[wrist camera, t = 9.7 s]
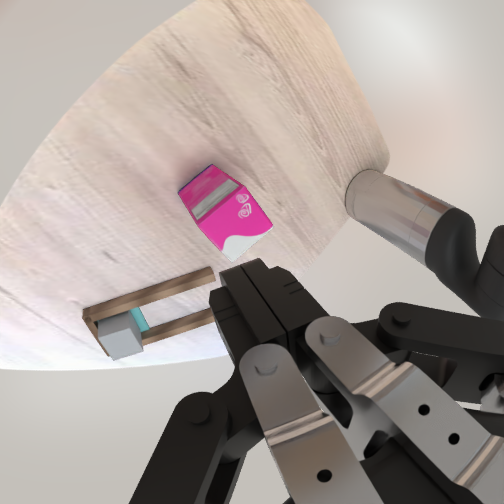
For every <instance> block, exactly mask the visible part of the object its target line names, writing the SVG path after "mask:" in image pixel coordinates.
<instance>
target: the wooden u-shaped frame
mask: <svg viewBox="0 0 504 504" xmlns="http://www.w3.org/2000/svg"><path fill="white" fill-rule="evenodd" d="M213 281H216V280H215V276H214V273H213V271H212V269H211V267H207V268H204V269H201V270H198V271H196V272H193V273H190V274H187V275H184V276H181V277H178V278H175V279H172V280H169V281H166V282H163V283H160V284H157V285H154V286H151V287H148V288H145V289H142V290H139V291H136V292H133V293H130V294H127V295H124V296H121V297H118V298H115V299H112V300H110V301H107V302H104V303H101V304H98V305H95V306H92V307H89V308H86V309H83V316H82V319H83V320H84V322H85V323H86V325H87V326H88V328H89V329H90V331H91V333H92V334H93V336H94V337H95V339H96V340H97V341H98V343H99V344H100V346H101V347H102V349H103V350H104V352H105V353H106V354H107V356H110V355H109V354H108V352H107V351H106V349H105V348H104V346H103V345H102V344H101V342H100V341H99V339H98V320H100V319H103V318H106V317H109V316H112V315H115V314H118V313H121V312H124V311H127V310H130V312H131V314H132V316H133V318H134V320H135V321H136V323H137V325H138V327H139V329H140V331H141V338H142V345H143V346H144V345H147V344H150V343H153V342H156V341H159V340H162V339H165V338H168V337H171V336H174V335H177V334H180V333H183V332H186V331H189V330H192V329H195V328H198V327H201V326H204V325H206V324H209V323H212V322H215V319H214V316H213V314H212V311H211V308H209V309H206V310H203V311H200V312H197V313H194V314H191V315H188V316H186V317H183V318H180V319H177V320H174V321H171V322H168V323H165V324H162V325H159V326H156V327H153V328H149V326H148V324H147V322H146V320H145V319H144V317H143V315H142V313H141V311H140V309H139V307H140V306H143V305H146V304H149V303H151V302H154V301H157V300H160V299H163V298H166V297H169V296H172V295H175V294H178V293H181V292H184V291H187V290H190V289H193V288H196V287H199V286H202V285H205V284H207V283H210V282H213Z"/></svg>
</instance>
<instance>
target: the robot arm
mask: <svg viewBox="0 0 504 504" xmlns="http://www.w3.org/2000/svg"><path fill="white" fill-rule="evenodd" d="M345 202H346V209H347V212H348V214H349V215H350V216H351V217H352V218H353V219H355V220H356V221H358V222H360V223H361V224H363V225H364V226H366V227H367V228H369V229H371V230H372V231H374V232H375V233H377V234H378V235H380V236H381V237H383V238H385V239H386V240H388V241H389V242H391V243H392V244H394V245H395V246H396V247H398V248H400V249H401V250H402V251H404V252H405V253H407V254H408V255H410V256H411V257H413V258H415V259H416V260H417V261H419V262H420V263H421V264H423V265H424V266H426V267H427V268H429V269H430V270H431V271H433V272H434V273H435V274H436V276H437V277H438V279H439V280H440V281H441V282H442V283H443V284H444V285H445V286H446V287H448V288H449V289H450V290H451V291H453V292H454V293H455V294H456V295H457V296H458V297H459V298H461V299H462V300H463V301H464V302H465V303H466V304H467V305H468V306H469V307H470V308H472V309H473V310H474V311H475V312H476V313H477V314H478V315H479V316H480V317H476V316H470V315H466V314H460V313H455V312H449V311H444V310H439V309H434V308H429V307H423V306H418V305H413V304H408V303H402V302H395V303H391V304H388V305H386V306H385V307H384V308H383V309H382V310H381V311H380V315H379V318H378V319H374V320H370V321H365V322H360V323H349V322H348V321H346V320H344V319H342V318H340V317H336V316H330V315H329V314H328V313H327V312H326V311H325V310H324V309H323V308H322V307H321V306H320V304H319V303H318V302H317V301H316V300H315V299H314V298H313V297H312V295H311V294H310V293H309V292H308V291H307V290H306V289H304V287H303V286H302V285H301V283H300V282H298V280H297V279H296V278H295V277H294V276H293V275H292V274H291V272H290V271H287V270H285V269H283V268H281V267H279V266H276V267H274V268H271V269H269V268H268V267H267V266H266V265H265V264H264V262H263V261H262V260H261V259H260V258H257V259H255V260H252V261H249V262H246V263H243V264H241V265H238V266H235V267H233V268H230V269H227V270H224V271H222V272H219V276H220V280H221V284H222V287H220V288H217V289H215V290H212V291H210V297H209V305H210V308H211V311H212V314H213V316H214V319H215V322H216V325H217V328H218V331H219V333H220V335H221V338H222V340H223V342H224V344H225V346H226V349H227V351H228V353H229V355H230V357H231V359H232V361H233V364H234V366H235V369H234V372H233V375H232V376H231V378H230V379H229V380H228V382H227V383H226V384H224V385H223V386H222V387H221V388H219V389H218V390H217V391H215V392H214V393H209V392H196V393H193V394H190V395H188V396H186V397H184V398H183V399H182V400H181V401H180V402H179V403H178V404H177V405H176V407H175V409H174V411H173V413H172V415H171V417H170V419H169V421H168V423H167V425H166V427H165V430H164V432H163V434H162V436H161V438H160V440H159V442H158V444H157V446H156V448H155V450H154V453H153V454H152V457H151V459H150V461H149V463H148V465H147V467H146V469H145V471H144V473H143V475H142V477H141V479H140V481H139V483H138V486H137V488H136V490H135V492H134V494H133V496H132V498H131V500H130V502H129V504H229V502H230V499H231V497H232V494H233V491H234V488H235V486H236V483H237V480H238V477H239V474H240V472H241V469H242V466H243V463H244V460H245V457H246V454H247V451H249V450H250V449H251V448H252V447H254V446H255V445H256V444H257V443H258V442H260V441H261V440H262V439H263V438H264V437H265V440H266V442H267V445H268V447H269V449H270V452H271V454H272V456H273V459H274V461H275V463H276V466H277V468H278V471H279V473H280V475H281V478H282V480H283V482H284V484H285V487H286V489H287V491H288V493H289V495H290V498H288V499H287V500H286V501H285V502H284V503H283V504H504V225H500V226H498V227H496V228H495V229H494V231H493V233H492V235H491V237H490V240H489V243H488V246H487V248H486V252H485V254H484V256H483V259H482V262H481V264H480V263H479V260H478V257H477V251H476V229H475V223H474V220H473V219H472V217H471V216H470V215H469V214H467V213H466V212H464V211H462V210H460V209H458V208H456V207H454V206H452V205H450V204H448V203H446V202H444V201H442V200H440V199H438V198H436V197H434V196H432V195H430V194H427V193H425V192H424V191H422V190H420V189H417V188H415V187H413V186H410V185H409V184H406V183H404V182H402V181H399V180H397V179H394V178H392V177H390V176H387V175H385V174H382V173H379V172H377V171H374V170H364V171H362V172H360V173H359V174H358V175H357V176H356V177H355V178H354V179H353V180H352V182H351V183H350V185H349V188H348V190H347V194H346V201H345ZM416 352H418V353H416ZM421 353H422V354H421ZM426 354H427V355H426ZM431 355H433V356H431ZM436 356H438V357H436ZM303 377H304V378H305V380H306V382H305V380H304V378H303ZM455 401H461V402H468V403H475V404H482V405H481V407H480V411H479V410H473V409H467V408H462V407H461V406H460V405H459V404H458V403H457V402H455ZM319 406H320V407H319ZM321 409H322V410H323V411H324V412H323V411H322V410H321Z"/></svg>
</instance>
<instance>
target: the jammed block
mask: <svg viewBox="0 0 504 504" xmlns="http://www.w3.org/2000/svg"><path fill="white" fill-rule="evenodd" d="M98 339H99V341H100V342H101V344H102V345H103V346H104V348H105V349H106V351H107V352H108V354H109V355H110V356H111V358H112V359H113V361H114V360H117V359H120V358H124V357H127V356H130V355H134V354H137V353H140V352H143V345H142V338H141V331H140V329H139V327H138V325H137V323H136V321H135V320H134V318H133V316H132V314H131V312H130V310H127V311H124V312H121V313H118V314H115V315H112V316H109V317H106V318H103V319H100V320H98Z"/></svg>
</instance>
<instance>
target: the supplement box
mask: <svg viewBox="0 0 504 504" xmlns="http://www.w3.org/2000/svg"><path fill="white" fill-rule="evenodd" d="M178 194H179V196H180V198H181V199H182V201H183V203H184V204H185V206H186V208H187V209H188V211H189V213H190V214H191V216H192V218H193V219H194V221H195V223H196V224H197V226H198V227H199V228H200V230H201V231H202V232H203V233H204V234H205V235H206V236H207V237H208V239H209V240H210V241H211V242H212V243H213V244H214V245H215V246H216V247H217V248H218V249H219V250H220V251H221V252H222V253H223V254H224V255H225V256H226V257H227V259H228V260H229V261H230V262H232V263H233V262H234V261H235V260H236V259H238V258H239V257H240V256H241V255H242V254H243V253H244V252H245V251H247V250H248V249H249V248H250V247H251V246H252V245H254V244H255V243H256V242H257V241H258V240H259V239H261V238H262V237H263V236H264V235H265V234H267V233H268V232H269V231H270V230H271V229H273V228H274V225H273V224H272V222H271V221H270V220H269V218H268V217H267V215H266V214H265V213H264V211H263V210H262V209H261V207H260V206H259V205H258V203H257V202H256V200H255V199H254V198H253V196H252V195H251V194H250V192H249V191H248V190H247V188H246V187H245V186H244V185H242V184H241V183H239V182H238V181H236V180H235V179H233V178H232V177H230V176H229V175H227V174H226V173H224V172H223V171H221V170H220V169H219V168H217V167H215V166H214V165H210V166H209V167H208V168H206V169H205V170H204V171H203V172H201V173H200V174H199V175H198V176H197V177H195V178H194V179H193V180H192V181H191V182H189V183H188V184H187V185H186V186H185V187H183V188H182V189H181V190H180V191H179V192H178Z"/></svg>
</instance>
